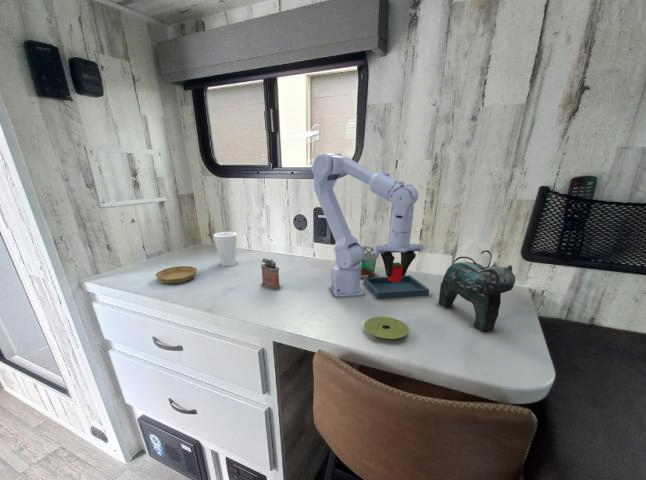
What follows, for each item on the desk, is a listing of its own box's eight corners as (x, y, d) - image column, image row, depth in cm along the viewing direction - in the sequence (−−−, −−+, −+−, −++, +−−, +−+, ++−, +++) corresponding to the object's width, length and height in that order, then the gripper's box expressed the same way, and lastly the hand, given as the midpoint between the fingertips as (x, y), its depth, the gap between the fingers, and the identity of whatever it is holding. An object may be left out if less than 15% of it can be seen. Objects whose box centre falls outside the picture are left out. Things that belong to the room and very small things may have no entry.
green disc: (380, 349, 73) (381, 342, 72) (355, 327, 82) (355, 321, 82) (417, 338, 77) (418, 332, 76) (389, 319, 86) (390, 313, 86)
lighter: (282, 288, 108) (280, 260, 104) (275, 290, 106) (273, 263, 102) (267, 282, 113) (265, 256, 109) (260, 285, 111) (258, 258, 107)
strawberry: (391, 282, 92) (393, 266, 89) (385, 277, 95) (387, 262, 93) (403, 281, 92) (406, 265, 90) (398, 276, 96) (400, 261, 94)
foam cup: (222, 260, 138) (219, 231, 133) (242, 261, 137) (239, 231, 132) (214, 267, 130) (210, 236, 124) (235, 267, 129) (231, 237, 123)
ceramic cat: (502, 333, 79) (524, 258, 71) (481, 337, 78) (502, 261, 69) (448, 301, 97) (461, 239, 88) (431, 304, 95) (442, 240, 86)
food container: (376, 281, 113) (379, 255, 109) (360, 280, 114) (361, 254, 110) (376, 270, 124) (378, 246, 119) (361, 269, 125) (362, 245, 121)
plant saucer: (165, 289, 108) (163, 282, 107) (151, 278, 118) (150, 271, 117) (204, 278, 117) (203, 272, 116) (188, 269, 127) (187, 263, 126)
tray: (376, 299, 99) (377, 293, 98) (363, 284, 111) (363, 278, 110) (428, 295, 101) (429, 289, 100) (409, 281, 113) (410, 275, 112)
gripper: (381, 235, 83) (377, 281, 88) (431, 232, 85) (424, 278, 90) (372, 229, 89) (368, 273, 95) (419, 227, 91) (412, 270, 97)
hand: (395, 275), depth 93 cm, fingers closed on strawberry, 4 cm apart
